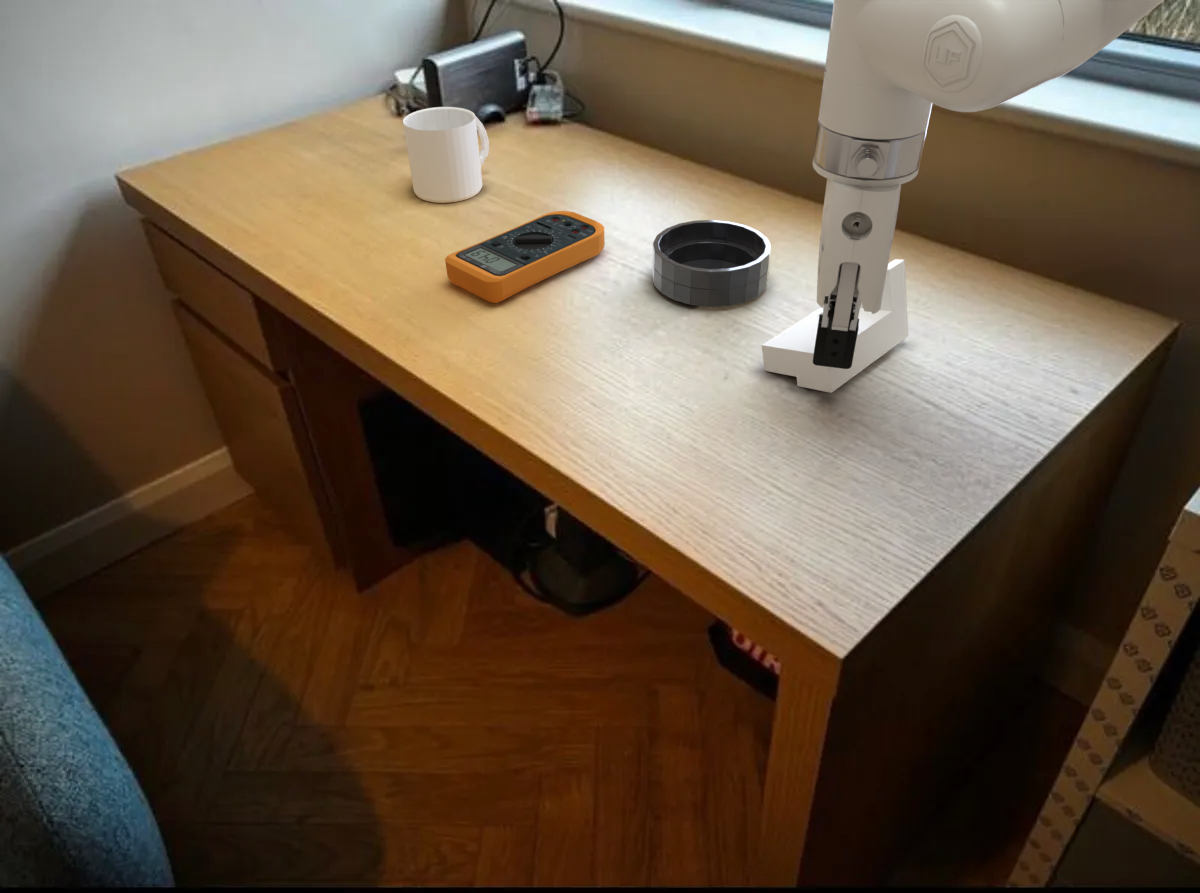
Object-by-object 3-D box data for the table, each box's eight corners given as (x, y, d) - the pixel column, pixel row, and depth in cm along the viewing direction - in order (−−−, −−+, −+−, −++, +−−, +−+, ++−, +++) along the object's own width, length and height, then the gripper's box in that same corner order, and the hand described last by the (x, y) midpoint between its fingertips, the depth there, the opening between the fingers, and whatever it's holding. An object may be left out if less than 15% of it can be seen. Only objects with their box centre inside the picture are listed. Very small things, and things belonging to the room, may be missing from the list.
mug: (436, 209, 114) (426, 136, 108) (401, 188, 119) (389, 117, 114) (514, 184, 120) (508, 113, 114) (477, 166, 125) (470, 97, 119)
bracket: (844, 327, 91) (837, 255, 87) (908, 336, 86) (904, 259, 82) (766, 379, 84) (756, 303, 80) (831, 392, 79) (823, 311, 75)
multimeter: (614, 252, 103) (613, 224, 101) (494, 310, 93) (491, 280, 91) (562, 231, 108) (561, 203, 106) (443, 283, 98) (439, 255, 96)
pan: (773, 263, 100) (777, 225, 97) (758, 317, 91) (762, 277, 88) (665, 252, 103) (666, 215, 100) (641, 303, 94) (641, 264, 91)
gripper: (924, 192, 58) (875, 419, 70) (920, 117, 70) (879, 323, 81) (807, 183, 60) (778, 406, 71) (821, 111, 71) (794, 313, 83)
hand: (832, 361), depth 76 cm, fingers closed
